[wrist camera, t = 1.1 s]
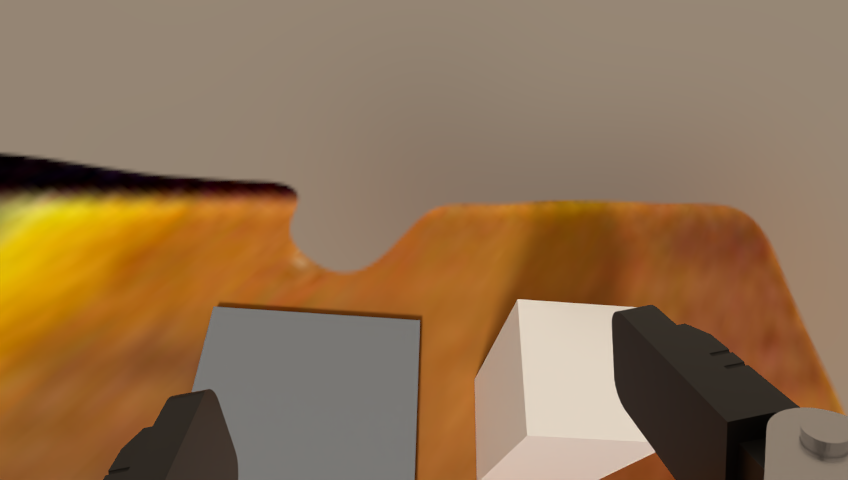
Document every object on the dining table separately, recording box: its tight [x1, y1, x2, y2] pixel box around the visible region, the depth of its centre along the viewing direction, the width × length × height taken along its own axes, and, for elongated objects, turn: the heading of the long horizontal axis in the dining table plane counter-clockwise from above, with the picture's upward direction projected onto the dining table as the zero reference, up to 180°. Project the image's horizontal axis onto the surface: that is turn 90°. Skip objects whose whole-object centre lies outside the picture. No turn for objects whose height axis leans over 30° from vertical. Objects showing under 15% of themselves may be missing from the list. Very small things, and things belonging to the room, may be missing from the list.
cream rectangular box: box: [475, 299, 655, 480], centre depth 30 cm, size 6×6×12 cm
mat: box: [192, 307, 420, 480], centre depth 34 cm, size 14×14×1 cm
